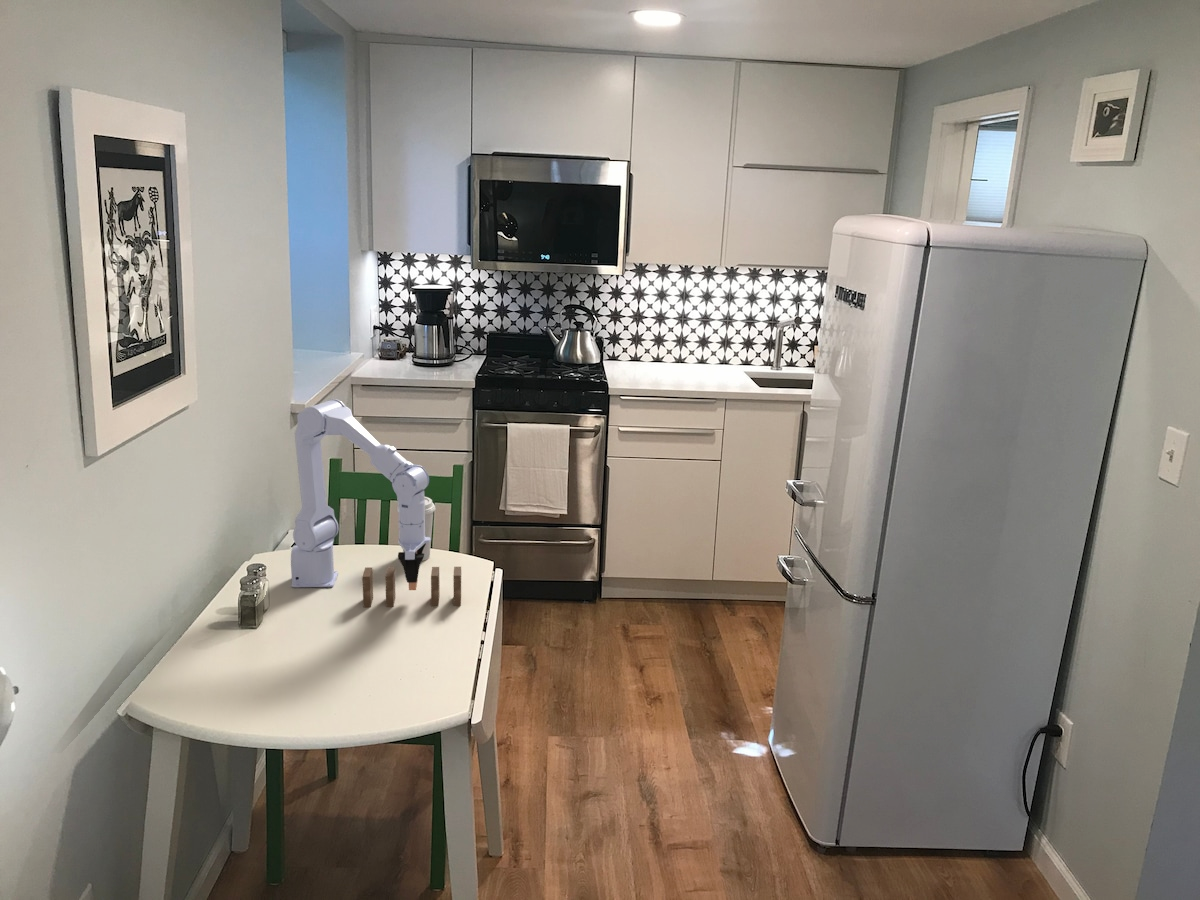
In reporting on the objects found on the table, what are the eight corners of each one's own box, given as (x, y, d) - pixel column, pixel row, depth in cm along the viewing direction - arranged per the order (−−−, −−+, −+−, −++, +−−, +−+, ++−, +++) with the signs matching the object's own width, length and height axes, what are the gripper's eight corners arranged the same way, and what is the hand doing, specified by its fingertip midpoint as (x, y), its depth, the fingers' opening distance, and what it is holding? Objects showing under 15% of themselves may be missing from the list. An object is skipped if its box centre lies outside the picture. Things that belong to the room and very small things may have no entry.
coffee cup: (390, 560, 235) (389, 504, 231) (409, 547, 244) (407, 492, 239) (425, 566, 232) (424, 509, 228) (442, 552, 241) (441, 497, 237)
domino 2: (386, 607, 210) (385, 576, 208) (388, 597, 215) (387, 567, 213) (393, 606, 211) (392, 576, 208) (395, 597, 215) (394, 567, 213)
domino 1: (363, 607, 210) (362, 576, 208) (366, 597, 214) (365, 567, 212) (370, 607, 210) (369, 576, 208) (373, 597, 215) (372, 567, 213)
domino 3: (408, 590, 210) (408, 559, 208) (410, 580, 215) (409, 550, 212) (416, 590, 210) (415, 559, 208) (417, 580, 215) (417, 550, 213)
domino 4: (431, 606, 212) (430, 575, 209) (432, 596, 216) (432, 566, 214) (438, 606, 212) (438, 575, 210) (439, 596, 217) (439, 566, 214)
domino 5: (453, 606, 212) (453, 575, 210) (454, 596, 217) (454, 566, 215) (460, 605, 212) (460, 575, 210) (461, 596, 217) (461, 566, 215)
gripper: (428, 532, 201) (428, 590, 205) (431, 509, 215) (432, 563, 219) (394, 532, 201) (396, 590, 204) (400, 509, 214) (401, 563, 218)
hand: (412, 576), depth 212 cm, fingers closed on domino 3, 5 cm apart
